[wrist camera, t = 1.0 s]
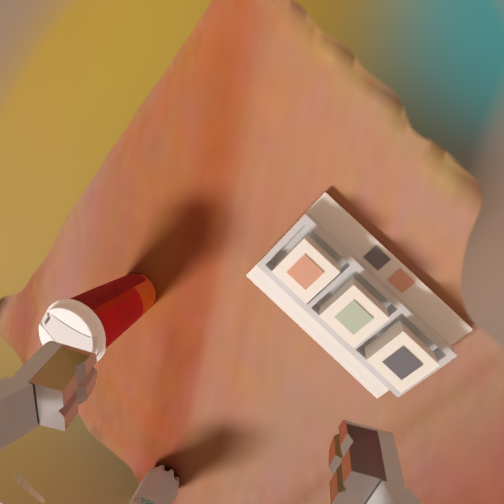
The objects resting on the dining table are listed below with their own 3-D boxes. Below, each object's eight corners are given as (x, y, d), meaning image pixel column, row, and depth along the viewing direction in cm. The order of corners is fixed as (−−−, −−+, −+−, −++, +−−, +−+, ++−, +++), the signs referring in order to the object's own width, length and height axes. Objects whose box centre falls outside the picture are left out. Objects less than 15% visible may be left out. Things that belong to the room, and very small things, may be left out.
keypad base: (470, 326, 43) (480, 339, 40) (376, 394, 48) (378, 411, 45) (325, 191, 43) (323, 193, 40) (247, 273, 48) (240, 281, 45)
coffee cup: (105, 290, 55) (23, 335, 41) (133, 254, 52) (55, 288, 38) (144, 327, 55) (75, 385, 41) (174, 293, 52) (111, 342, 38)
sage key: (387, 308, 42) (390, 319, 39) (352, 336, 44) (353, 349, 41) (352, 276, 42) (353, 285, 39) (320, 305, 44) (318, 316, 41)
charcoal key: (433, 351, 42) (440, 366, 39) (397, 378, 44) (401, 393, 41) (399, 319, 42) (403, 331, 39) (364, 347, 44) (366, 361, 41)
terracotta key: (340, 264, 42) (340, 272, 39) (308, 294, 44) (305, 304, 41) (306, 233, 42) (303, 238, 39) (276, 264, 44) (271, 272, 41)
